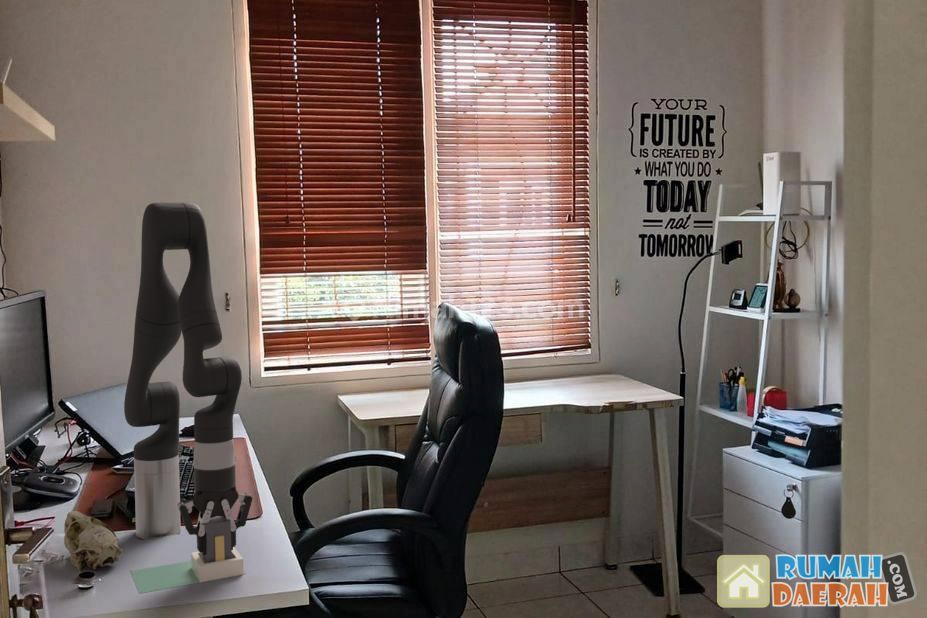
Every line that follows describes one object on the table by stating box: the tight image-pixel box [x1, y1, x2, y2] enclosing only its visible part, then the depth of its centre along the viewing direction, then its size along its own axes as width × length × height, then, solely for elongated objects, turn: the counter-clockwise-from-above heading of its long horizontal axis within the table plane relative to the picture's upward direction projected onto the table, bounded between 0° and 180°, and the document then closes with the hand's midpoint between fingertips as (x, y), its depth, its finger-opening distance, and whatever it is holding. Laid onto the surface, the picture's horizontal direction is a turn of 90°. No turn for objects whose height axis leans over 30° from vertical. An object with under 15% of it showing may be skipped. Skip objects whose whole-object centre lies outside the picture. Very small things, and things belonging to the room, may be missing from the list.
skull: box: [63, 510, 124, 572], centre depth 166 cm, size 10×16×10 cm, turn 50°
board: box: [130, 560, 247, 595], centre depth 160 cm, size 12×19×1 cm, turn 118°
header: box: [190, 546, 244, 583], centre depth 161 cm, size 8×8×3 cm
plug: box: [203, 516, 231, 563], centre depth 160 cm, size 5×4×8 cm
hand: (216, 551), depth 161 cm, fingers closed on plug, 4 cm apart
